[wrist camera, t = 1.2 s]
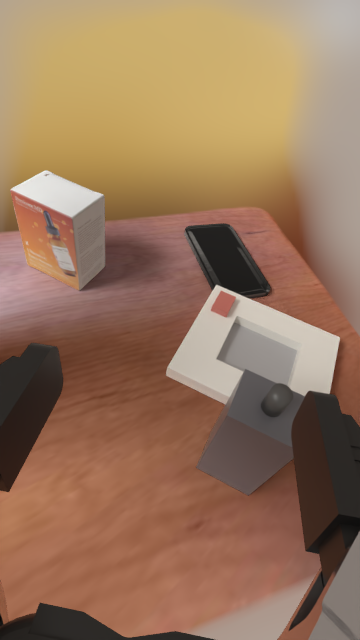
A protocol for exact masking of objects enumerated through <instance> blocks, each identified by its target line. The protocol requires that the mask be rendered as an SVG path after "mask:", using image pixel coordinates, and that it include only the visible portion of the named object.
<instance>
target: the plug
mask: <svg viewBox="0 0 360 640" xmlns="http://www.w3.org/2000/svg"><path fill="white" fill-rule="evenodd" d="M304 398H305V396H303V395H301V394H299V393H297V392H294V391H292V390H291V389H290V388H289V387H288V386H287V385H285V384H282V383H275V382H273V381H271V380H269V379H267V378H264V377H262V376H260V375H258V374H256V373H254V372H251V371H249V370H247V369H245V370H244V372H243V374H242V376H241V377H240V379H239V381H238V383H237V385H236V387H235V388H234V390H233V392H232V394H231V396H230V397H229V399H228V401H227V403H226V405H225V407H224V408H223V410H222V412H221V414H220V416H219V417H218V419H217V421H216V423H215V425H214V426H213V428H212V430H211V433H210V435H209V438H208V440H207V442H206V445H205V447H204V450H203V452H202V454H201V457H200V459H199V461H198V464H197V466H196V468H198V469H199V470H201V471H203V472H205V473H207V474H209V475H211V476H213V477H214V478H216V479H218V480H220V481H222V482H224V483H226V484H228V485H230V486H231V487H233V488H235V489H237V490H239V491H241V492H243V493H245V494H246V495H248V496H249V495H250V494H251V493H252V492H253V491H255V490H256V489H257V488H258V487H259V486H261V485H262V484H263V483H264V482H266V481H267V480H268V479H269V478H270V477H272V476H273V475H274V474H275V473H276V472H278V471H279V470H280V469H281V468H282V467H284V466H285V465H286V464H287V463H289V462H290V461H291V460H292V459H293V458H294V456H293V448H292V440H291V429H292V423H293V420H294V418H295V416H296V414H297V412H298V410H299V408H300V406H301V404H302V402H303V400H304Z"/></svg>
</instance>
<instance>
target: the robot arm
mask: <svg viewBox="0 0 360 640" xmlns="http://www.w3.org/2000/svg"><path fill="white" fill-rule="evenodd" d="M62 387H63V374H62V368H61V362H60V357H59V351H58V348H57V347H55V346H50V345H44V344H38V343H31V344H30V345H29V346H28V347H27V349H26V350H25V351H24V353H23V354H22V355H21V357H15V356H12V357H11V358H9V359H8V360H6V361H5V362H3V363H2V364H0V490H1V491H6V492H9V491H10V489H11V487H12V485H13V483H14V481H15V479H16V478H17V476H18V474H19V472H20V470H21V468H22V466H23V464H24V462H25V461H26V459H27V457H28V455H29V453H30V451H31V449H32V447H33V445H34V444H35V442H36V440H37V438H38V436H39V434H40V432H41V430H42V428H43V427H44V425H45V423H46V421H47V419H48V417H49V415H50V413H51V411H52V410H53V408H54V406H55V404H56V402H57V400H58V398H59V396H60V394H61V391H62ZM291 440H292V448H293V456H294V464H295V472H296V479H297V487H298V495H299V503H300V511H301V519H302V526H303V534H304V542H305V550H306V551H307V552H312V553H317V554H319V555H320V561H321V568H320V569H319V571H318V573H317V574H316V576H315V578H314V579H313V581H312V583H311V585H310V586H309V588H308V590H307V592H306V593H305V595H304V597H303V598H302V600H301V602H300V604H299V605H298V607H297V609H296V611H295V612H294V614H293V616H292V618H291V619H290V621H289V623H288V625H287V626H286V628H285V629H284V631H283V633H282V634H281V636H280V637H279V638H278V639H277V640H360V427H359V426H358V424H357V423H356V421H355V420H354V419H353V417H352V416H351V415H346V414H342V413H341V410H340V406H339V402H338V399H337V397H336V396H335V395H333V394H327V393H321V392H315V391H308V392H307V394H306V395H305V398H304V400H303V402H302V404H301V406H300V408H299V410H298V412H297V414H296V416H295V418H294V420H293V423H292V429H291ZM0 640H214V639H210V638H205V637H200V636H195V635H191V634H186V633H181V632H176V631H175V632H167V633H160V634H153V635H146V636H139V637H132V638H127V637H123V636H121V635H120V634H118V633H116V632H115V631H113V630H112V629H110V628H108V627H107V626H105V625H104V624H102V623H100V622H99V621H97V620H96V619H94V618H92V617H91V616H89V615H88V614H86V613H84V612H81V611H77V610H72V609H67V608H62V607H58V606H53V605H48V604H43V603H40V604H39V606H38V609H37V612H36V613H34V614H29V615H26V616H22V617H19V618H16V619H14V620H12V621H10V622H9V619H8V612H7V605H6V599H5V595H4V590H3V587H2V583H1V581H0Z"/></svg>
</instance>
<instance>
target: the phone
mask: <svg viewBox="0 0 360 640" xmlns="http://www.w3.org/2000/svg"><path fill="white" fill-rule="evenodd" d="M185 237H186V239H187V241H188V243H189V245H190V247H191V249H192V251H193V253H194V255H195V257H196V259H197V261H198V263H199V265H200V267H201V269H202V271H203V273H204V275H205V277H206V278H207V280H208V282H209V284H210V286H211V288H212V290H213V289H214V288H215V286H216V285H218V286H221V287H223V288H225V289H228V290H230V291H232V292H235V293H237V294H239V295H242V296H244V297H246V298H249V299H250V298H256V297H263V296H266V295H268V293H269V291H270V285H269V284H268V282H267V281H266V279H265V277H264V276H263V274H262V273H261V271H260V270H259V268H258V267H257V265H256V263H255V262H254V260H253V259H252V257H251V256H250V254H249V252H248V251H247V249H246V248H245V246H244V245H243V243H242V242H241V240H240V238H239V237H238V235H237V234H236V232H235V231H234V229H233V227H232V226H230V225H228V224H209V225H195V226H188V227H186V229H185Z"/></svg>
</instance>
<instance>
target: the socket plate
mask: <svg viewBox="0 0 360 640" xmlns="http://www.w3.org/2000/svg"><path fill="white" fill-rule="evenodd" d="M339 341H340V337H338V336H335V335H333V334H331V333H328V332H326V331H324V330H321V329H319V328H317V327H314V326H312V325H310V324H307V323H305V322H303V321H300V320H298V319H296V318H293V317H291V316H289V315H286V314H284V313H282V312H279V311H277V310H275V309H272V308H270V307H268V306H265V305H263V304H261V303H258V302H256V301H253V300H251V299H249V298H246V297H244V296H242V295H239V294H237V293H235V292H232V291H230V290H228V289H225V288H223V287H221V286H218V285H216V286H215V288H214V289H213V291H212V293H211V294H210V296H209V298H208V299H207V301H206V303H205V305H204V306H203V308H202V310H201V311H200V313H199V315H198V316H197V318H196V320H195V321H194V323H193V325H192V327H191V328H190V330H189V332H188V333H187V335H186V337H185V338H184V340H183V342H182V343H181V345H180V347H179V349H178V350H177V352H176V354H175V355H174V357H173V359H172V360H171V362H170V364H169V365H168V367H167V371H166V376H168V377H170V378H172V379H174V380H176V381H178V382H180V383H182V384H184V385H186V386H188V387H190V388H192V389H194V390H197V391H199V392H201V393H203V394H205V395H207V396H209V397H211V398H213V399H215V400H217V401H219V402H221V403H223V404H225V405H226V403H227V401H228V399H229V397H230V396H231V394H232V392H233V390H234V388H235V387H236V385H237V383H238V381H239V379H240V377H241V376H242V374H243V372H244V370H245V369H247V370H249V371H251V372H254V373H256V374H258V375H260V376H262V377H264V378H267V379H269V380H271V381H273V382H275V383H282V384H285V385H287V386H288V387H289V388H290V389H291V390H292V391H294V392H297V393H299V394H301V395H303V396H305V395H306V394H307V392H308V391H315V392H321V393H327V394H330V389H331V384H332V379H333V373H334V368H335V362H336V357H337V351H338V346H339Z"/></svg>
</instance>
